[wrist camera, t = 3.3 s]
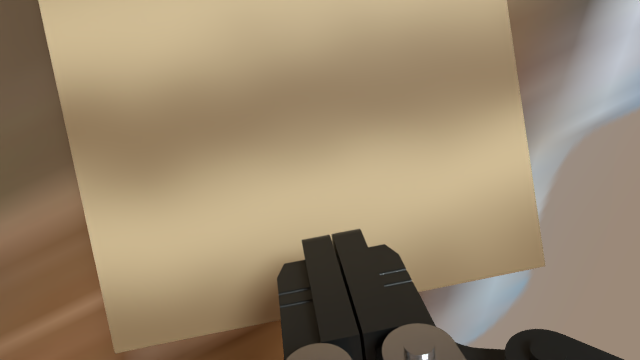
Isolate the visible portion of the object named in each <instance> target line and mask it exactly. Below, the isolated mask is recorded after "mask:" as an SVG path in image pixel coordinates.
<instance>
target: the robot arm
mask: <svg viewBox="0 0 640 360" xmlns="http://www.w3.org/2000/svg"><path fill="white" fill-rule="evenodd" d="M332 243H333V244H332ZM302 246H303V252H304V257H305V260H300V261H295V262H290V263H285V264H284V265H283V267H282V269H281V271H280V273H279V275H278V277H277V285H278V294H279V306H280V317H281V328H282V338H283V349H284V360H624V359H621V358H619V357H616V356H614V355H611V354H609V353H607V352H604V351H602V350H599V349H597V348H595V347H592V346H590V345H587V344H585V343H582V342H580V341H577V340H575V339H573V338H570V337H568V336H566V335H563V334H560V333H558V332H554V331H550V330H544V329H531V330H525V331H522V332H519V333H517V334H515V335H514V336H512V337H511V338H510V339H509V341H508V343H507V344H506V348H505V350H500V349H483V348H473V347H468V346H464V345H461V344H458V343H456V342H454V340H453V339H452V338H451V336H450V335H448V334H447V333H446V332H445V331H443V330H442V329H440V328H437V327H436V326H435V324H434V322H433V320H432V318H431V316H430V314H429V312H428V310H427V308H426V306H425V304H424V303H423V301H422V299H421V297H420V295H419V293H418V291H417V289H416V287H415V285H414V283H413V282H412V279H411V277H410V275H409V273H408V271H406V267H405V265H404V263H403V261H402V259H401V257H400V256H399V254H398V253H396V252H395V251H394V250H392V249H391V248H389V247H388V246H387V245H385V244H382V245H377V246H372V247H368V246H367V243H366V241H365V238H364V236H363V234H362V231H361V229H355V230H350V231H345V232H339V233H334V234H332V240H331V237H330V235H324V236H319V237H314V238H308V239H303V240H302Z"/></svg>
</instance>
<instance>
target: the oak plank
mask: <svg viewBox="0 0 640 360" xmlns="http://www.w3.org/2000/svg"><path fill="white" fill-rule="evenodd" d="M38 1H39V6H40V11H41V15H42V20H43V24H44V29H45V34H46V38H47V43H48V47H49V52H50V57H51V61H52V66H53V70H54V75H55V80H56V84H57V89H58V93H59V98H60V103H61V107H62V112H63V116H64V121H65V126H66V130H67V135H68V140H69V144H70V149H71V153H72V158H73V163H74V167H75V172H76V176H77V181H78V186H79V190H80V195H81V199H82V204H83V209H84V213H85V218H86V222H87V227H88V232H89V236H90V241H91V245H92V250H93V255H94V259H95V264H96V268H97V273H98V278H99V282H100V287H101V292H102V296H103V301H104V305H105V310H106V315H107V319H108V324H109V328H110V333H111V338H112V342H113V347H114V351H115V353H120V352H125V351H130V350H135V349H140V348H145V347H149V346H154V345H159V344H164V343H169V342H174V341H179V340H184V339H189V338H194V337H199V336H204V335H209V334H214V333H218V332H223V331H228V330H233V329H238V328H243V327H248V326H253V325H258V324H263V323H268V322H273V321H278V320H281V317H280V306H279V294H278V285H277V277H278V275H279V273H280V271H281V269H282V267H283V265H284V264H285V263H290V262H295V261H300V260H305V257H304V252H303V246H302V240H303V239H308V238H314V237H319V236H324V235H330V237H331V240H332V234H334V233H339V232H345V231H350V230H355V229H361V231H362V234H363V236H364V238H365V241H366V243H367V246H368V247H372V246H377V245H382V244H385V245H387V246H388V247H389V248H391V249H392V250H394V251H395V252H396V253H398V254H399V256H400V257H401V259H402V261H403V263H404V265H405V267H406V271H408V273H409V275H410V277H411V279H412V282H413V283H414V285H415V287H416V289H417V291H418V292H421V291H425V290H430V289H435V288H440V287H445V286H450V285H455V284H460V283H465V282H470V281H475V280H480V279H485V278H490V277H494V276H499V275H504V274H509V273H514V272H519V271H524V270H529V269H534V268H539V267H544V266H545V260H544V254H543V247H542V240H541V233H540V226H539V219H538V212H537V206H536V199H535V192H534V185H533V178H532V171H531V164H530V158H529V151H528V144H527V137H526V130H525V123H524V117H523V110H522V103H521V96H520V89H519V82H518V75H517V69H516V62H515V55H514V48H513V41H512V34H511V27H510V21H509V14H508V7H507V0H38ZM332 244H333V243H332Z"/></svg>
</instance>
